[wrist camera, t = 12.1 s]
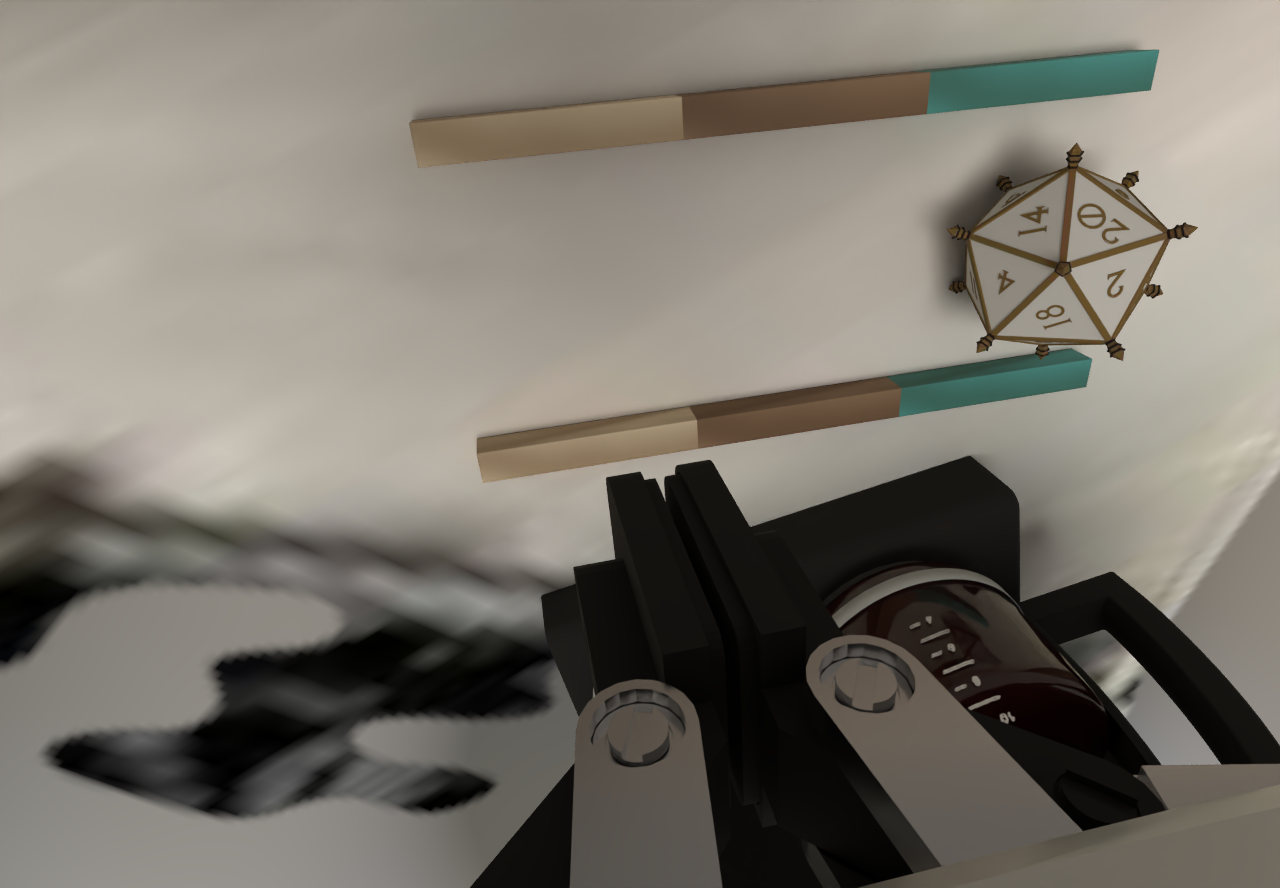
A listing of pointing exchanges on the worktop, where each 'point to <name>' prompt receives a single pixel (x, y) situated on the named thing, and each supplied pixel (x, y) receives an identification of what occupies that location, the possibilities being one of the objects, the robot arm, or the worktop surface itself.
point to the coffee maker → (963, 635)
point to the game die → (1063, 259)
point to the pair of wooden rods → (755, 114)
